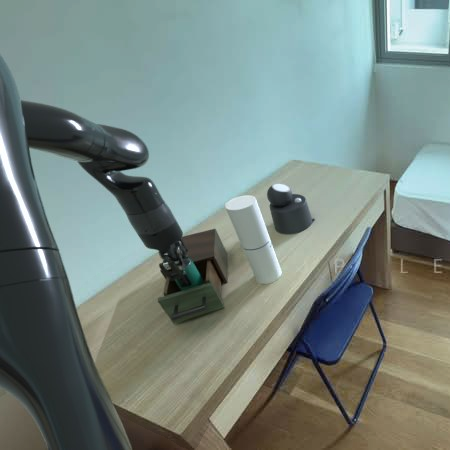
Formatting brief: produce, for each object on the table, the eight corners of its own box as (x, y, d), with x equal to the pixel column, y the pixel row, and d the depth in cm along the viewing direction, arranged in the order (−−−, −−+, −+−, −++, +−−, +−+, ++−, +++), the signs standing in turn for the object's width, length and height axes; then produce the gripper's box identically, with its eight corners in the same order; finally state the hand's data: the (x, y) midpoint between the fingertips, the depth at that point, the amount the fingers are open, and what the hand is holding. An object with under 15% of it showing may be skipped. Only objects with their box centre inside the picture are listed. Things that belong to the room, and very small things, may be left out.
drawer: (223, 319, 77) (210, 297, 72) (171, 337, 73) (154, 314, 68) (224, 275, 90) (213, 253, 85) (179, 288, 86) (165, 266, 82)
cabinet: (227, 282, 89) (214, 256, 83) (177, 297, 85) (159, 270, 79) (227, 253, 100) (215, 228, 94) (183, 265, 96) (167, 240, 90)
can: (197, 292, 77) (184, 271, 73) (176, 293, 77) (163, 272, 73) (207, 277, 82) (196, 257, 78) (187, 278, 82) (175, 258, 78)
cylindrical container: (250, 281, 89) (218, 207, 74) (266, 265, 94) (238, 193, 80) (271, 286, 87) (242, 211, 73) (286, 269, 92) (261, 196, 78)
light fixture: (305, 190, 100) (259, 196, 97) (315, 230, 109) (273, 237, 106) (305, 173, 110) (264, 178, 108) (314, 210, 119) (276, 216, 117)
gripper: (141, 212, 73) (174, 265, 82) (127, 246, 62) (167, 303, 71) (178, 204, 75) (205, 257, 85) (170, 235, 64) (203, 292, 74)
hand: (188, 277), depth 78 cm, fingers closed on can, 5 cm apart
